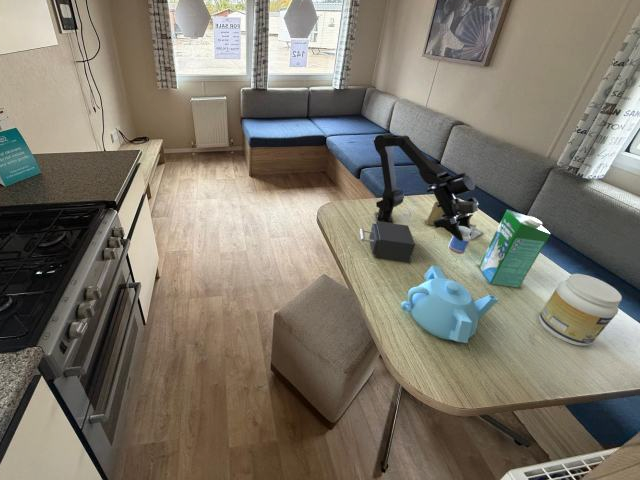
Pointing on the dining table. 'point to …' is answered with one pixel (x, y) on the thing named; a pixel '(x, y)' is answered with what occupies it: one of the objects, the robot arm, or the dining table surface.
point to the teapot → (446, 307)
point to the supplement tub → (580, 309)
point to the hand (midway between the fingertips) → (465, 238)
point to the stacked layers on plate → (472, 227)
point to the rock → (434, 214)
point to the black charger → (394, 242)
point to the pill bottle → (457, 245)
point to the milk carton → (513, 249)
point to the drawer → (371, 238)
